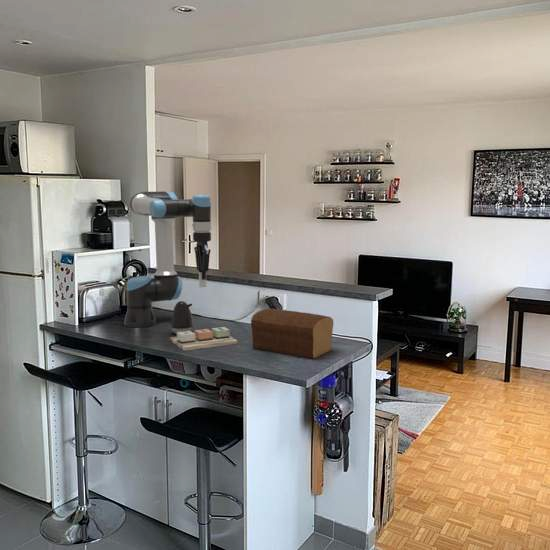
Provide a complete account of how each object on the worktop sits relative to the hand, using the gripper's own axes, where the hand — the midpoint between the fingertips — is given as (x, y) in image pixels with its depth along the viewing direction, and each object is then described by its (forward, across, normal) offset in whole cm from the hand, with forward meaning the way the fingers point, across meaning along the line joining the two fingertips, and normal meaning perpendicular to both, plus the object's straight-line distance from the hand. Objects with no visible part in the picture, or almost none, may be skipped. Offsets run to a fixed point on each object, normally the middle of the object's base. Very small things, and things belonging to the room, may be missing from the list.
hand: (202, 286), depth 247 cm
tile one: (+22, 0, -8) cm, 24 cm away
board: (+24, 0, 0) cm, 24 cm away
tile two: (+22, 0, 0) cm, 22 cm away
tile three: (+22, 0, +8) cm, 24 cm away
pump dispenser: (+25, -19, -3) cm, 31 cm away
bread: (+25, +27, +28) cm, 47 cm away
